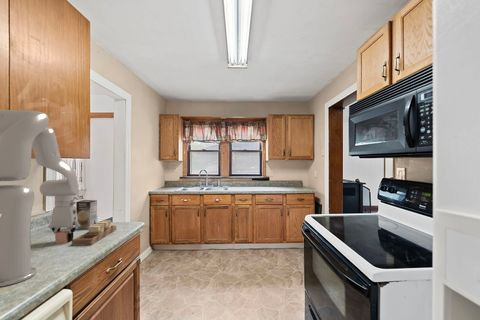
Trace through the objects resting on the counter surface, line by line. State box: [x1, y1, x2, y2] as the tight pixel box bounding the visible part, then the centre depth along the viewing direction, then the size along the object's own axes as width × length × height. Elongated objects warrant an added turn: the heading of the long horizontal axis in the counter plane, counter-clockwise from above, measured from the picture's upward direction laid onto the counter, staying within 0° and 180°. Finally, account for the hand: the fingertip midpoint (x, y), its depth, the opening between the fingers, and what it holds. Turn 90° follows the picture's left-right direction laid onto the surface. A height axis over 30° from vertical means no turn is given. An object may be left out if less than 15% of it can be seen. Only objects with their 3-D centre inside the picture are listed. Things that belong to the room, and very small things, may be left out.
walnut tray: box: [71, 219, 117, 246], centre depth 126 cm, size 25×9×6 cm, turn 2°
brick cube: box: [55, 229, 71, 244], centre depth 119 cm, size 5×5×5 cm
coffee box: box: [75, 199, 98, 230], centre depth 144 cm, size 9×6×16 cm
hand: (64, 240), depth 119 cm, fingers closed on brick cube, 5 cm apart
